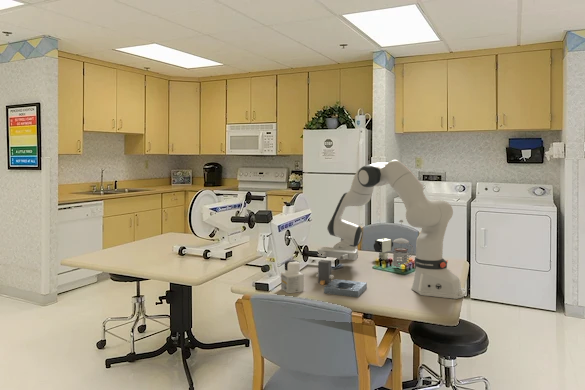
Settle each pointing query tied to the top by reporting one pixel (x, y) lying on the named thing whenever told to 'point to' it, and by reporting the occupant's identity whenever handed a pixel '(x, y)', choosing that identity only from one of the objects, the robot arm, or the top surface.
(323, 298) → the top surface
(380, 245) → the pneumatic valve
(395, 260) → the french press
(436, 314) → the top surface
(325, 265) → the block
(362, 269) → the top surface
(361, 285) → the plate
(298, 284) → the container
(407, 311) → the top surface
